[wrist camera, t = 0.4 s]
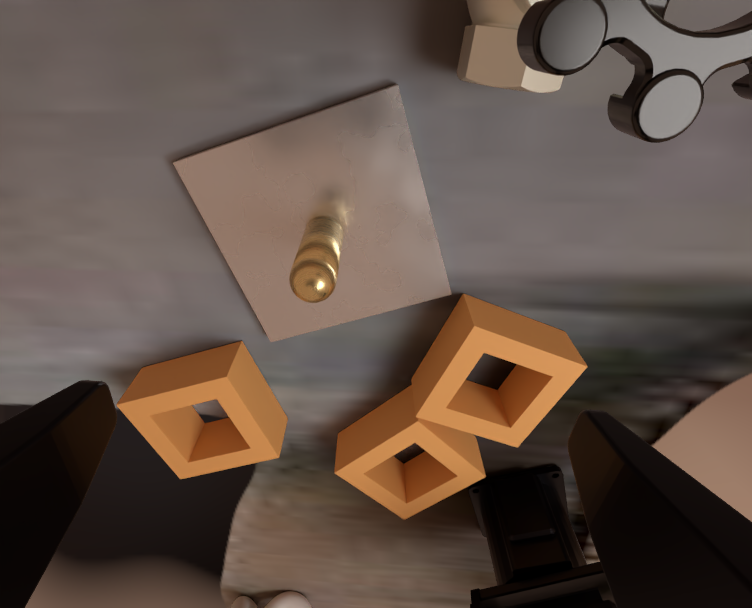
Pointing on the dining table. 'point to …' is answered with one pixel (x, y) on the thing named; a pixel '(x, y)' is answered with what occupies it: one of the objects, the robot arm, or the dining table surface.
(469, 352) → the chain link
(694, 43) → the valve
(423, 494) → the chain link
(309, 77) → the dining table surface
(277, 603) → the knot
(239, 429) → the end link
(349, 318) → the plate with brass peg
